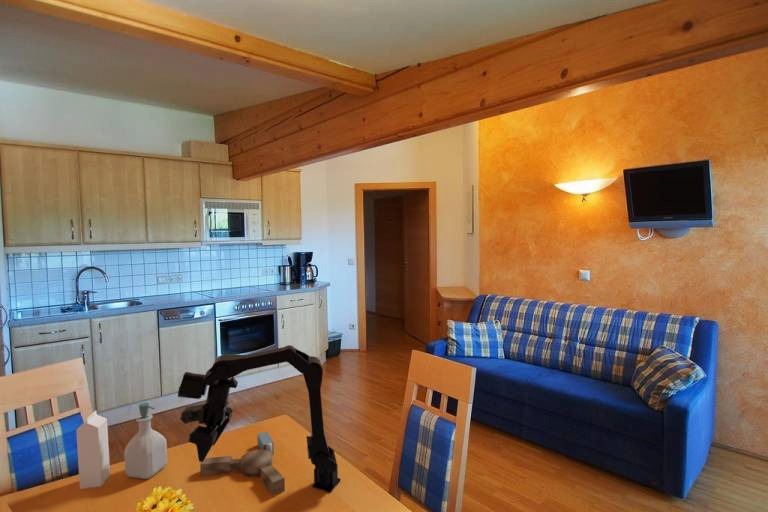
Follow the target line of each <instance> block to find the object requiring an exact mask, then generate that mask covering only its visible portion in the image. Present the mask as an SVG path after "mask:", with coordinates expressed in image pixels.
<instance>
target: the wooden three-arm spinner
mask: <svg viewBox="0 0 768 512" xmlns="http://www.w3.org/2000/svg"><path fill="white" fill-rule="evenodd" d="M199 467H200V477H209V476H218V475H219V476H220V475H228V474H231V473H238V472H240V473H241V474H242V476H245V477H248V478H256V477H259V478H260V479H261V483H262V484H263V485H264V486H265V488H267V489H268V491H269V492H270V493H271V494H272V495H273V496H276V495H278V494H281V493H282V492H285V488H286V486H285V484H286V483H285V481H286V479H285V477H284V476H283V474H281V473H280V472H279V471H278V469H276V467H274V466H273V454H272V453H271V452H270V451H268V450H262V449H260V448H259V449H255V450H250V451H248V452H246V453H245V454H243V455H241V457H240V458H233V455H227V456H225V455H224V456H223V455H222V456H216V457H215V456H214V457H205V459H204V461H203V462H201V463H200V465H199Z"/></svg>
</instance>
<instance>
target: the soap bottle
mask: <svg viewBox="0 0 768 512" xmlns="http://www.w3.org/2000/svg"><path fill="white" fill-rule="evenodd" d="M149 404H150V403H149V402H142V403H140V404H138V408H139V413H140V414H139V415H138V417H136V418H135V421H136V422H138V432H137V433H136V434H135V435H134V436H133V437H132V438H130V440H129V441H128V444H127V445H126V446H125V449H124V451H123V452H124V453H123V454H124V472H125V475H126V476H127V477H129V478H135V479H143V480H146V479H147V480H148V479H151V478H152V477H153V476H154V475H155V474H157V473H158V472H160V471H161V470H162V469H163V468H165V466H166V465H167V463H168V451H167V450H168V447H167V445H168V443H167V439H166V437H165V436H164V435H162V433H161V432H159V431H157V430H155V429H152V424H151V421H152V419H153V417H154V416H153V414H151V413H149V409H151V410H153V411H154V410H155V409H156V408H154V407H153V406H150V405H149Z"/></svg>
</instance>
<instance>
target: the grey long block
mask: <svg viewBox="0 0 768 512" xmlns="http://www.w3.org/2000/svg"><path fill="white" fill-rule="evenodd" d="M256 436H257V446H258V448H259V450H260V449H262V450H268V451H270V452H271V453H272V455H273V454H275V453H274V452H275V451H274V449H275V448H274V441H273V438H272V437H271V435H270V434H269V432H268V431H263V432H260V433H257V435H256Z"/></svg>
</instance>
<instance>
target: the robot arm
mask: <svg viewBox="0 0 768 512" xmlns="http://www.w3.org/2000/svg"><path fill="white" fill-rule="evenodd" d="M282 363H288V364H289V365H291V367H293V368H294V369H296V370H297V371H298V372H299V373H301V374H302V375H303V377H304V378H303V379H304V382H305V385H306V388H307V392H308V405H309V413H310V414H309V415H310V427H311V434H310V435H307V436H306V445H307V448H306V449H307V450H306V451H307V457H308V458H307V459H308V460H310V462H311V464H312V465H313V466H314V469H313V482H314V483H313V484H312V488H313V489H317V490H320V491H325V492H328V493H332V491H333V490H334V489H335V488H336V487H337V485H339V483H340V482H341V478H339V476H338V475H339V472H338V471H339V470H338V469H339V468H338V467H339V466H338V465H339V464H338V462H337V458H336V454H335V450H334V449H333V448H332V447H331V446H330V445H328V441H327V435H326V433H325V429H324V417H323V415H324V414H323V405H322V393H321V389H322V384H323V374H324V371H323V365H322V362H321V360H320V358H318V357H316V356H310V355H309V354H307V353H305V352H304V351H302V350H300V349H297V348H295V346H293V345H286V346H283V347H279V348H278V347H277V348H273V349H269V350H263V351H258V352H252V353H248V354H240V353H230V354H228V353H227V354H225V353H224V354H221V355H219V356H217V358H216V359H215V361H214V362H213V364H212V366H211V367H210V368H209V369H207V371H206V372H205V374H202V373H194V372H189V371H185V372H184V373H183V375H182V379H181V383H180V386H179V387H178V392H177V397H178V398H185V399H195V400H196V399H197V400H200V399H201V398H202V396H204V397H205V396H206V400H205V403H204V404H203V403H202V404H196V405H191V406H190V405H189V406H187V407H186V408H185V409H184V410H183V411H182V412H181V414H180V415H181V416H180V420H181V422H182V423H183V424H184V425H185V424H188V423H193V422H198V423H197V424H201V425H203V424H204V425H205V426H201V425H198V426H196V427H195V428H194V429H193V430H192V431H191V432H189V437H188V442H189V443H191V444H192V445H193V444H194V445H195V446H196V452H197V457H198V462H199V463H200V462H203V461H204V459H205V458H207V456H208V453H209V452H210V451H211V450H212V447H213V446H215V445H216V443H217V442H218V441H219V438H220V437H221V435H222V433H223V432H224V431H225V429H226V427H227V426H228V425H229V423H230V421H231V419H232V417H233V412H234V410H233V409H232V408H231V407H228V406H229V405H230V401H229V395H230V391H231V389H232V388H233V389H236V388H238V383H239V381H237V379H235V377H236V376H238V375H240V374H241V373H244V372H246V371H248V370H255V369H258V368H259V369H260V368H263V367H268V366H275V365H279V364H282ZM207 389H208V390H207ZM206 392H207V395H206Z"/></svg>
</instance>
